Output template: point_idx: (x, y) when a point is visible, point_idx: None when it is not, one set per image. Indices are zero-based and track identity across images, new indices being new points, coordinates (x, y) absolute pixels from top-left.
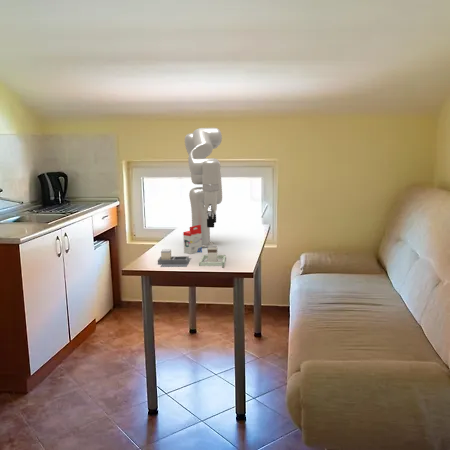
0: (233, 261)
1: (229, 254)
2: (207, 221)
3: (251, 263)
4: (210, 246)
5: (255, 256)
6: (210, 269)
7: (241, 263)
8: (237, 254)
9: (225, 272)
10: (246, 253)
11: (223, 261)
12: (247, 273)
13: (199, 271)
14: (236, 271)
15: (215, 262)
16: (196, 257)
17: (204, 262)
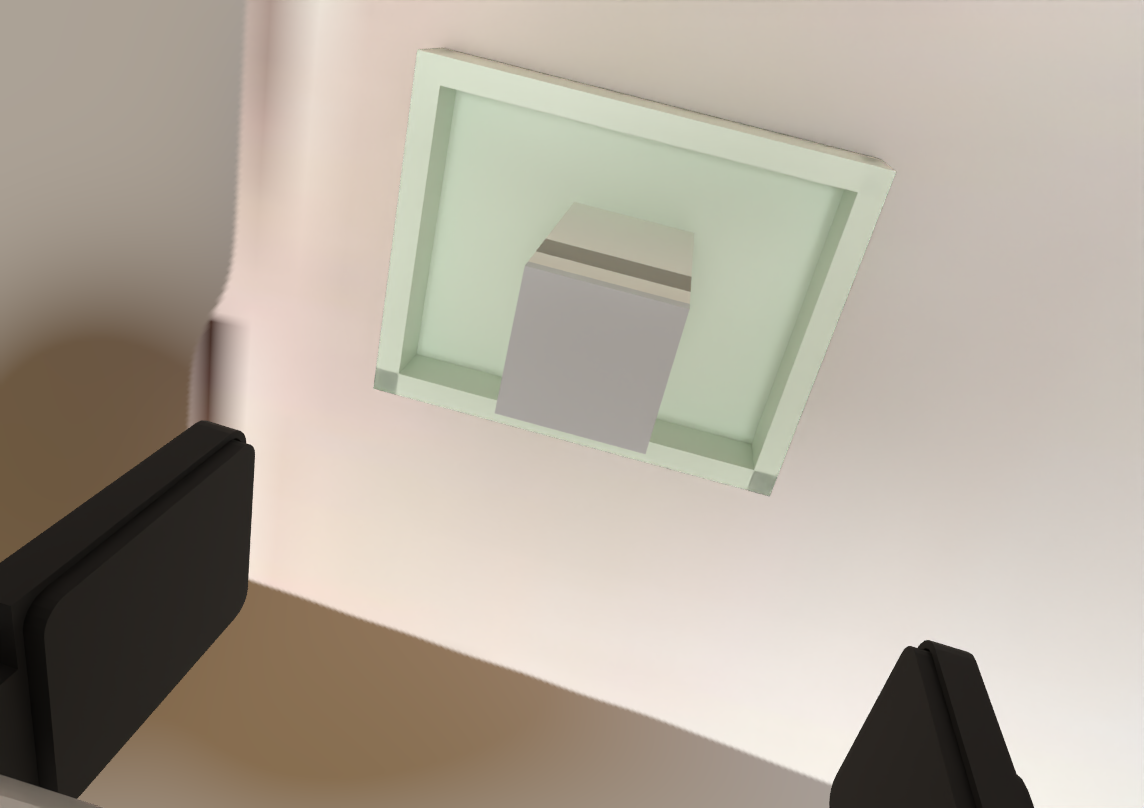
0: (669, 525)
1: (1060, 565)
2: (63, 536)
3: (532, 661)
4: (523, 315)
5: (820, 774)
6: (346, 192)
7: (555, 578)
8: (1009, 647)
9: (206, 341)
10: (1010, 741)
11: (418, 395)
12: None
13: (264, 28)
14: None
15: (386, 288)
16: (1116, 71)
17: (407, 133)
